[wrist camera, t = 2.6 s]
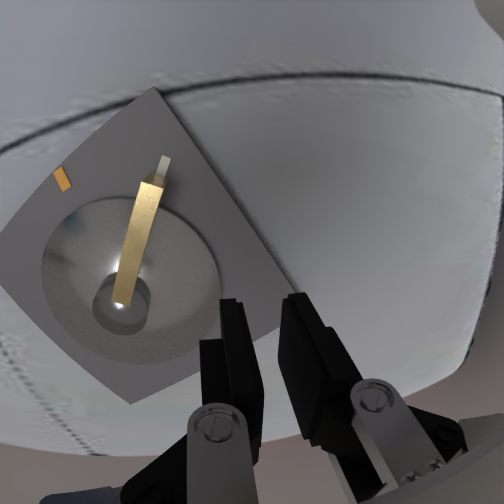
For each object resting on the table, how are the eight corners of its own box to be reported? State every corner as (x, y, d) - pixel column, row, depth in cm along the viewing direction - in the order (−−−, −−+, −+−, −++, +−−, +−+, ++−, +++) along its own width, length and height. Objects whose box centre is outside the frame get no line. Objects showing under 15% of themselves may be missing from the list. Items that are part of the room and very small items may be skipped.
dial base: (157, 88, 22) (152, 85, 20) (301, 299, 34) (307, 311, 32) (-11, 252, 25) (-21, 261, 23) (131, 393, 36) (130, 406, 34)
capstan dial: (189, 373, 33) (190, 403, 29) (42, 329, 28) (28, 355, 24) (261, 209, 26) (272, 227, 22) (65, 144, 21) (41, 150, 17)
